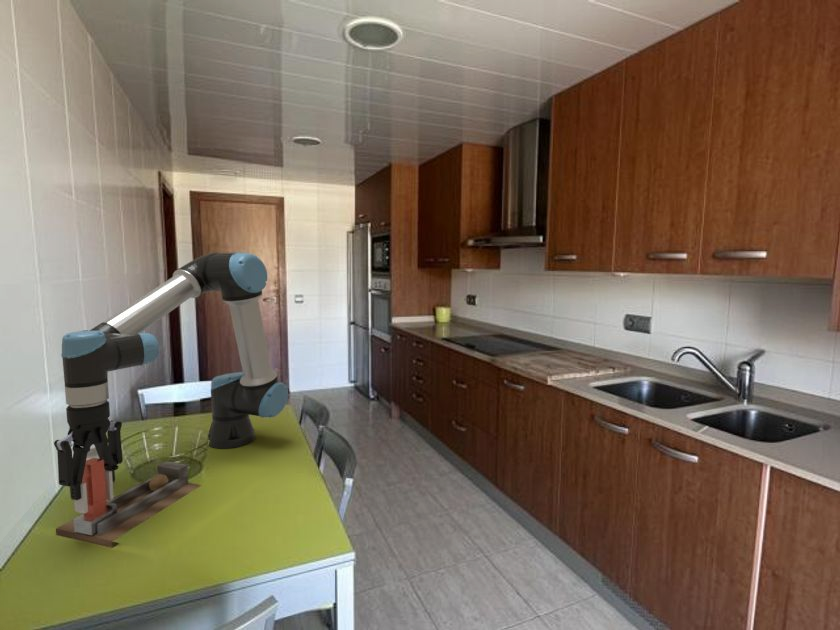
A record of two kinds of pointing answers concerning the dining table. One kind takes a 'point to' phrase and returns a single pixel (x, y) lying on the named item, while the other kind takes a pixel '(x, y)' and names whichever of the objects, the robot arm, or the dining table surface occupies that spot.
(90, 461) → the lever
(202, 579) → the dining table surface
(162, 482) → the nut
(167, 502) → the base
